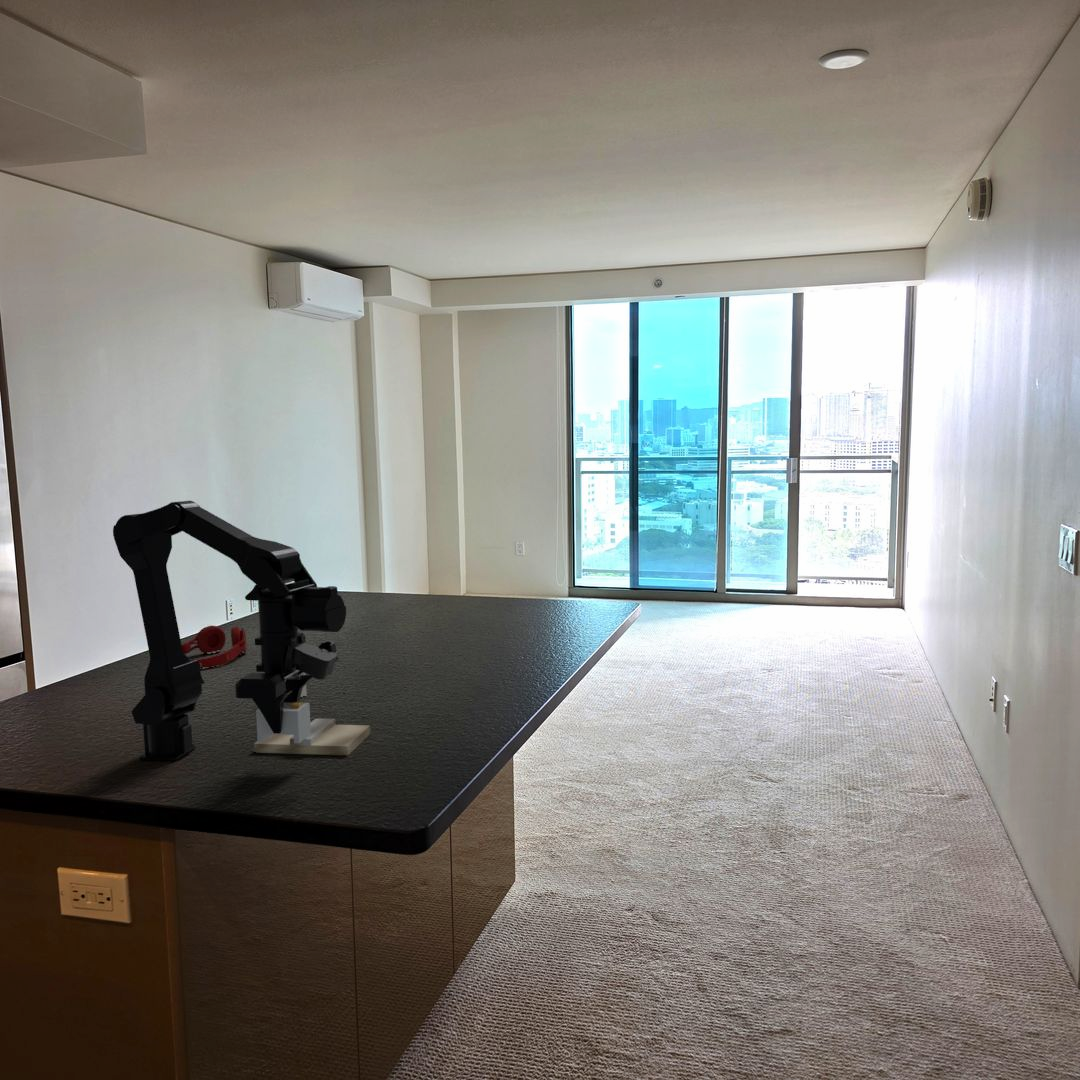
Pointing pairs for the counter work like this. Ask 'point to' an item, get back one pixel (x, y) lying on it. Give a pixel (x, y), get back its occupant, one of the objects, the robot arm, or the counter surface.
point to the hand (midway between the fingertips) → (283, 728)
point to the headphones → (217, 645)
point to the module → (287, 722)
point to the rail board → (318, 740)
